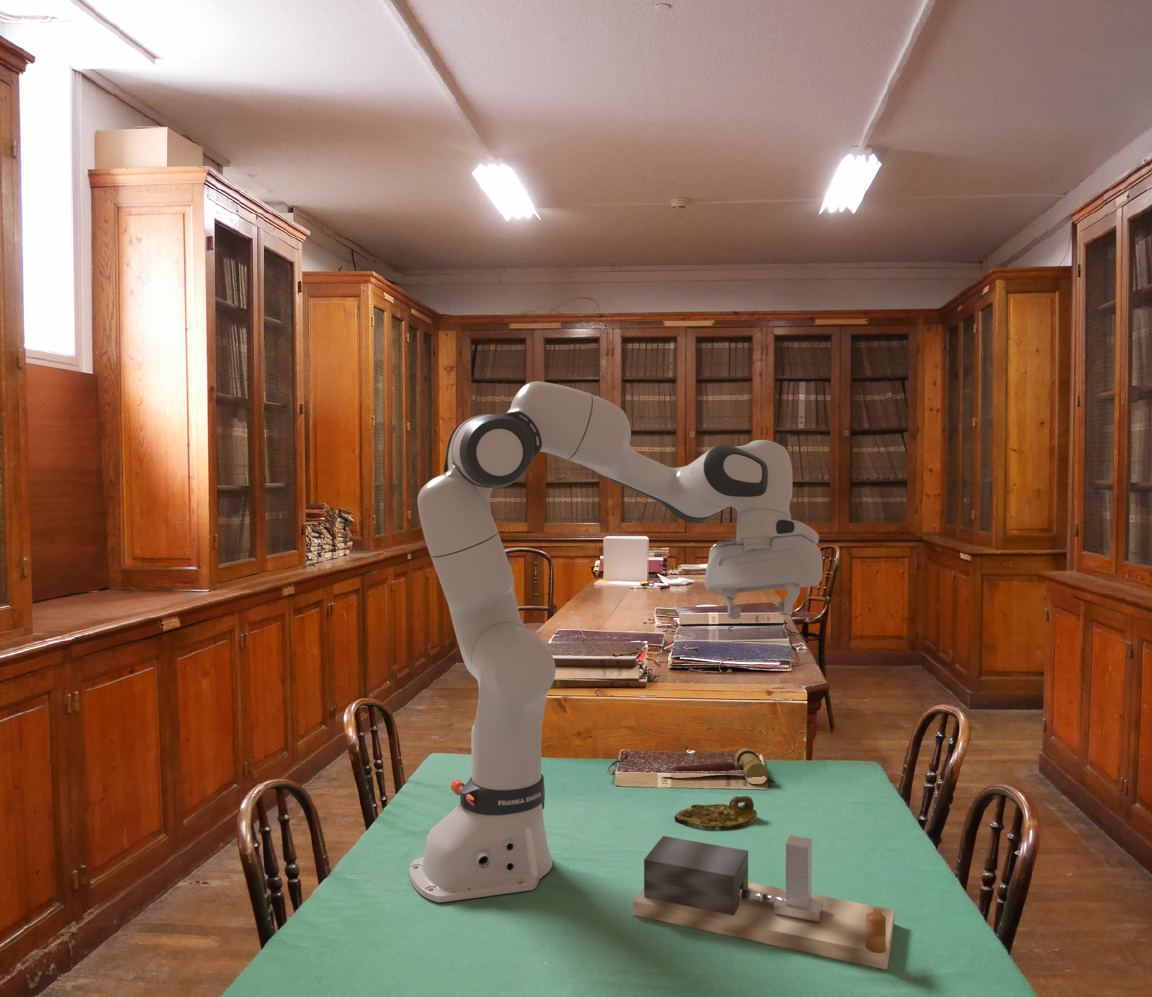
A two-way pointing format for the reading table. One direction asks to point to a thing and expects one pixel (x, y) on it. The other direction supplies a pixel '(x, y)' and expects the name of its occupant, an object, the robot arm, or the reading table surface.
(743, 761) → the gavel
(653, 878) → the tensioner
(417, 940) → the reading table surface
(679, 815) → the seal
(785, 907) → the chain end
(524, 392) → the robot arm
